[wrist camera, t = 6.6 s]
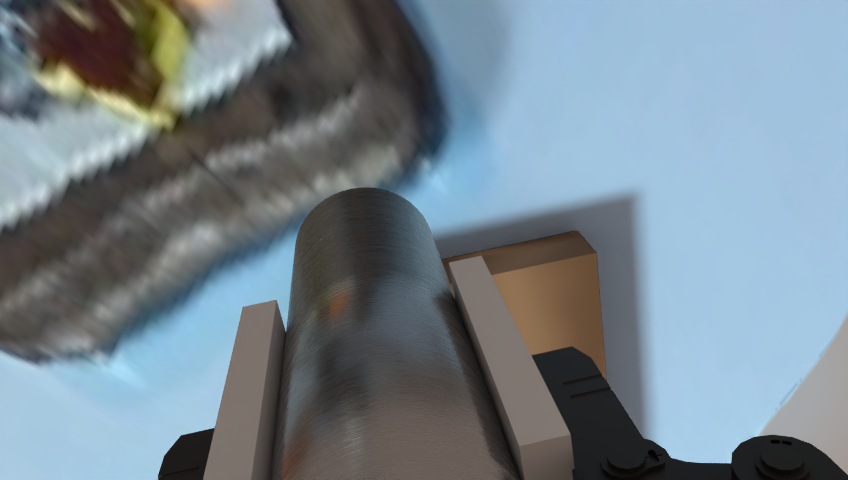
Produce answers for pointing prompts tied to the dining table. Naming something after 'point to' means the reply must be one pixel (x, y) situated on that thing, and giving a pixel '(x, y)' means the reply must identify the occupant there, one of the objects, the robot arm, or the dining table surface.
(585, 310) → the socket board
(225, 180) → the dining table surface
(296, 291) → the peg
